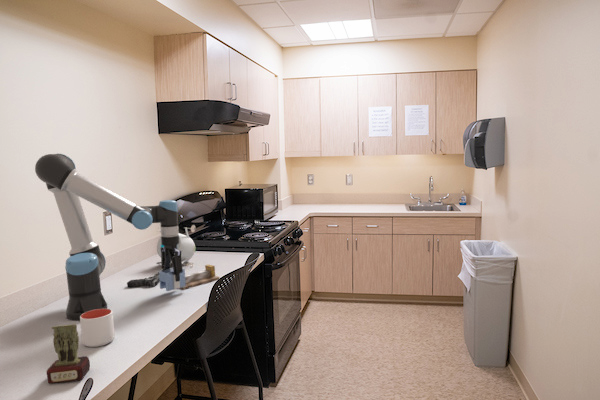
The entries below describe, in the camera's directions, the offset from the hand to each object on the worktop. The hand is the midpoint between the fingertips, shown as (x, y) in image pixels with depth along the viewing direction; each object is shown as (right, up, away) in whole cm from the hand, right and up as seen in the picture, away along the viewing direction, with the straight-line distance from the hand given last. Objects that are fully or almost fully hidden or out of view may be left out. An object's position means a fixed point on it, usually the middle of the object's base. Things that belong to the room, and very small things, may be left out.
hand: (172, 286), depth 208 cm
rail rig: (+6, -1, +16) cm, 17 cm away
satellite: (-12, +2, +54) cm, 55 cm away
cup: (-11, -10, -50) cm, 52 cm away
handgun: (-17, -2, +22) cm, 28 cm away
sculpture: (-10, -12, -74) cm, 76 cm away
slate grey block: (0, 0, 0) cm, 0 cm away
